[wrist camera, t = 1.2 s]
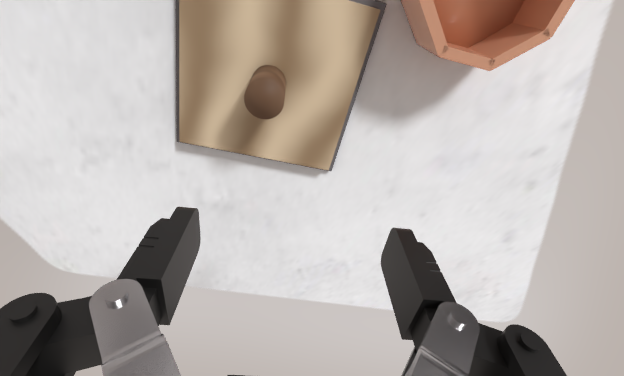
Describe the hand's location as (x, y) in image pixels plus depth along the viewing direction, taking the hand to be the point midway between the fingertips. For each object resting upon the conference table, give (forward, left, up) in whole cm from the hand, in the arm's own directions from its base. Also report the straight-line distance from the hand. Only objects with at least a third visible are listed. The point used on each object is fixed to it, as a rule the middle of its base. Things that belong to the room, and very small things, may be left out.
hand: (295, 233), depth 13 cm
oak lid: (-3, 0, -19) cm, 19 cm away
